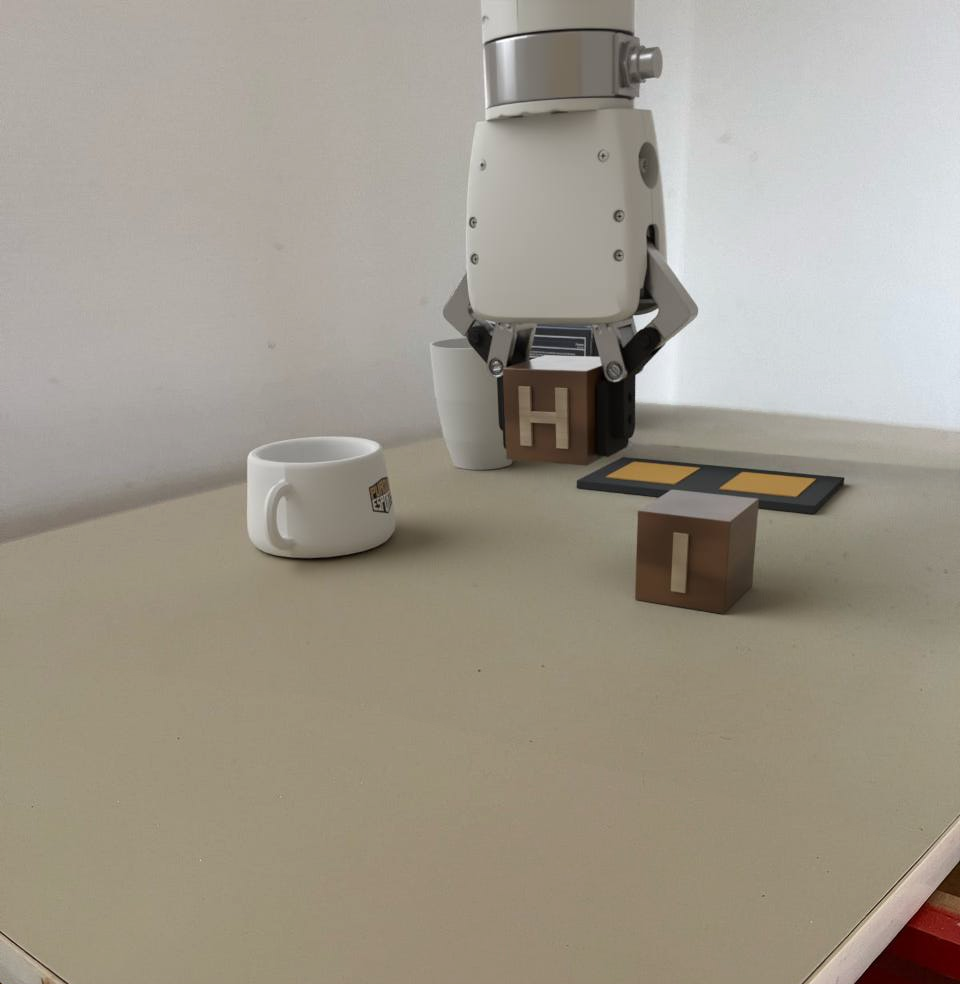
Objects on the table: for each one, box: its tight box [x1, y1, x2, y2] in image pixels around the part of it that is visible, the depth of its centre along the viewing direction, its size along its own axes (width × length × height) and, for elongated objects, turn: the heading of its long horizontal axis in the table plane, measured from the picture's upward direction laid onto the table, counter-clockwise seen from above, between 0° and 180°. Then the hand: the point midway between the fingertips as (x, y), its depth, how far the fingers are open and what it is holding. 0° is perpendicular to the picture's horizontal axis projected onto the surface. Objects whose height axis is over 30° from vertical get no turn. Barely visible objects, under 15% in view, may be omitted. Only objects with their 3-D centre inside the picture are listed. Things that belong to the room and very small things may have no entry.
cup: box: [429, 337, 514, 471], centre depth 86 cm, size 8×8×10 cm
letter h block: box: [503, 355, 604, 467], centre depth 57 cm, size 5×5×5 cm
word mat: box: [576, 456, 845, 515], centre depth 78 cm, size 18×9×1 cm, turn 60°
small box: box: [529, 323, 600, 360], centre depth 94 cm, size 11×6×10 cm, turn 48°
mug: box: [246, 435, 396, 559], centre depth 66 cm, size 12×10×6 cm
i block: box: [634, 490, 759, 615], centre depth 56 cm, size 5×5×5 cm
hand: (565, 444), depth 58 cm, fingers closed on letter h block, 5 cm apart
